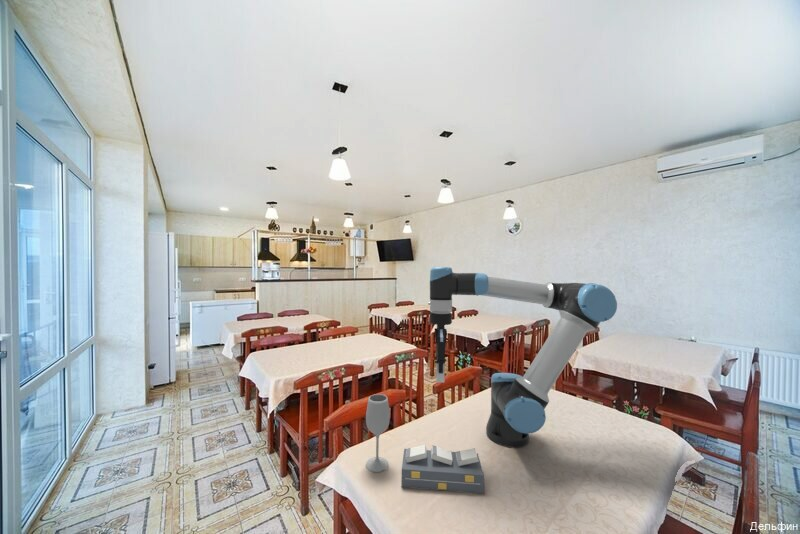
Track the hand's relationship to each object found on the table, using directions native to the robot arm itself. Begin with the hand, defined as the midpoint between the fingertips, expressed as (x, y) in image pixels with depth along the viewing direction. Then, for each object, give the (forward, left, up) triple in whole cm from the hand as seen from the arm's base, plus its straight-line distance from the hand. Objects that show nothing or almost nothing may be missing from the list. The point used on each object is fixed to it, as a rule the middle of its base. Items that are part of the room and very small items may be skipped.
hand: (440, 381), depth 100 cm
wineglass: (+20, +8, -25) cm, 33 cm away
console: (0, +12, -24) cm, 27 cm away
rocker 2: (0, +12, -18) cm, 21 cm away
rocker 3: (-7, +12, -18) cm, 22 cm away
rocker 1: (+8, +12, -18) cm, 22 cm away
